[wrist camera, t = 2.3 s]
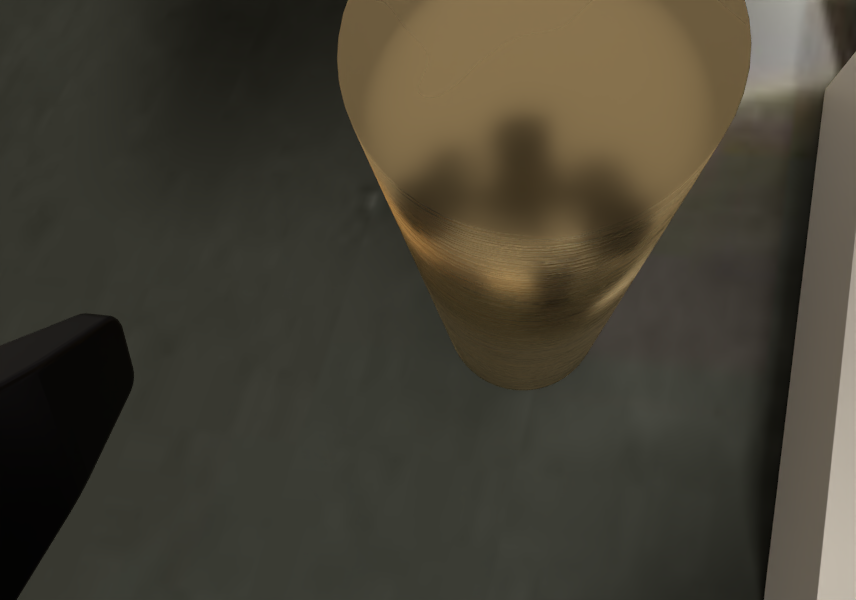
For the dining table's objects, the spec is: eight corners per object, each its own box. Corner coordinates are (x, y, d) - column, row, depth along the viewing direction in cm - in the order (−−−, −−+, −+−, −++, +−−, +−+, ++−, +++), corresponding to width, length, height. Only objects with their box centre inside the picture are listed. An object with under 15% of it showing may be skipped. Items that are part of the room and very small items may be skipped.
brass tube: (607, 260, 20) (774, -113, 7) (582, 404, 19) (720, 269, 6) (464, 235, 20) (388, -149, 8) (433, 373, 20) (293, 194, 7)
